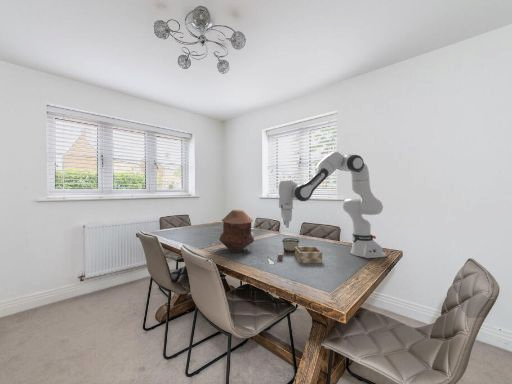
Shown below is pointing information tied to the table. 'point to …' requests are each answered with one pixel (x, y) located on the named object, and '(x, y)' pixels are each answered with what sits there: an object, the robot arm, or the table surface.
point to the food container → (290, 244)
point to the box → (308, 255)
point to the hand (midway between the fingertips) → (286, 226)
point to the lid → (280, 257)
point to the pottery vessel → (236, 231)
